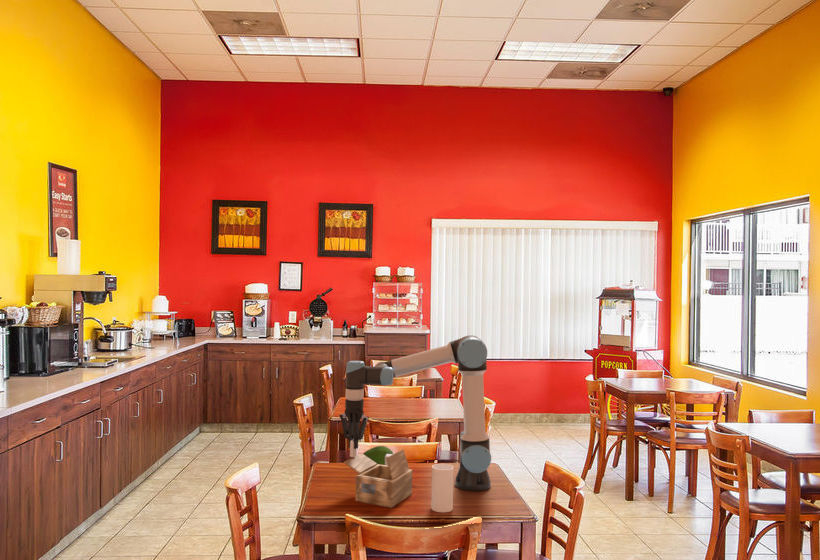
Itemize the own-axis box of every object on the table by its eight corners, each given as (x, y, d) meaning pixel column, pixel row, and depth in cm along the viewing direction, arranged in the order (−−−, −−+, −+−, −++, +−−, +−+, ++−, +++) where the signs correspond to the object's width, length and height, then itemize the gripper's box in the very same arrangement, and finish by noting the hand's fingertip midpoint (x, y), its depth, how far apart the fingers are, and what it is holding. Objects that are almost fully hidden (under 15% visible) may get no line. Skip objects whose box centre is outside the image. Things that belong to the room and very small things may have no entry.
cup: (430, 504, 242) (430, 463, 242) (450, 504, 243) (451, 463, 243) (432, 512, 234) (433, 469, 234) (454, 512, 235) (455, 469, 235)
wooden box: (412, 493, 254) (413, 469, 255) (390, 508, 237) (391, 482, 237) (378, 487, 261) (378, 463, 261) (354, 501, 244) (355, 476, 244)
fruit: (360, 470, 285) (361, 448, 285) (362, 464, 295) (362, 443, 295) (393, 470, 285) (394, 449, 286) (393, 464, 295) (394, 443, 295)
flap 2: (409, 468, 252) (403, 449, 254) (393, 478, 240) (387, 457, 241) (407, 469, 253) (402, 449, 254) (391, 478, 240) (386, 457, 241)
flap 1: (377, 463, 259) (361, 453, 262) (360, 472, 246) (344, 461, 249) (376, 464, 259) (361, 454, 262) (359, 473, 246) (343, 462, 249)
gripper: (372, 398, 256) (371, 456, 256) (345, 395, 262) (344, 452, 262) (363, 401, 250) (362, 460, 249) (336, 398, 255) (334, 456, 255)
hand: (353, 456), depth 256 cm, fingers closed
